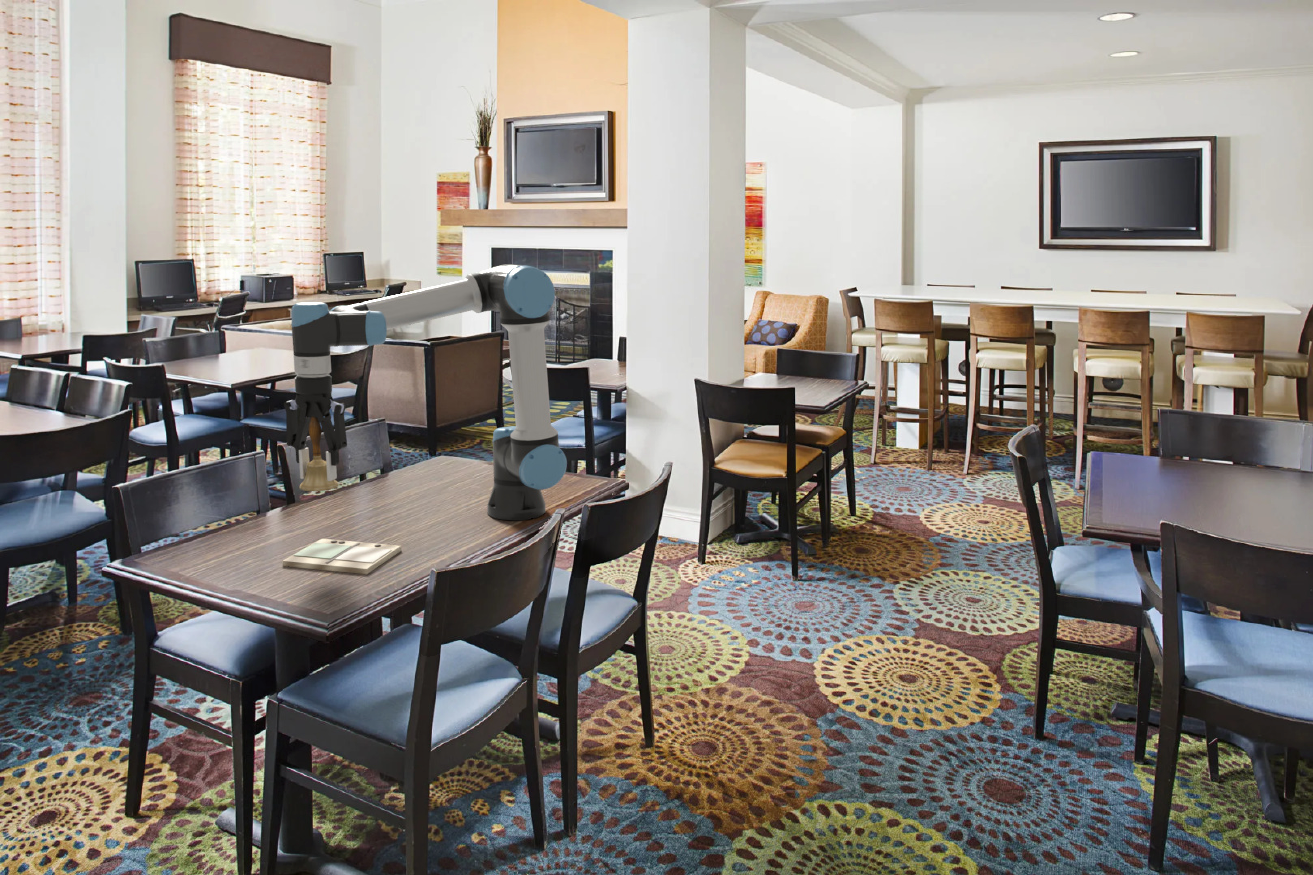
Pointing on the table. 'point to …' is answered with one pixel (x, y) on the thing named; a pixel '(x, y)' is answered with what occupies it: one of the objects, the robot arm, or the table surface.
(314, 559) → the slot board
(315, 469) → the hand bell
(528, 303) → the robot arm
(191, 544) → the table surface
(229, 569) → the table surface
